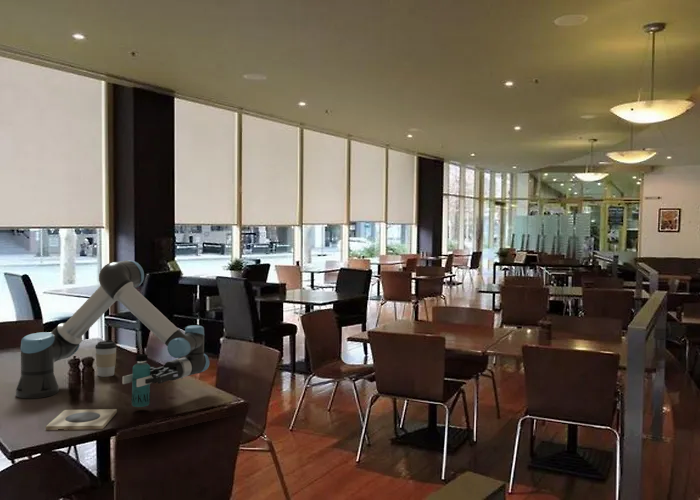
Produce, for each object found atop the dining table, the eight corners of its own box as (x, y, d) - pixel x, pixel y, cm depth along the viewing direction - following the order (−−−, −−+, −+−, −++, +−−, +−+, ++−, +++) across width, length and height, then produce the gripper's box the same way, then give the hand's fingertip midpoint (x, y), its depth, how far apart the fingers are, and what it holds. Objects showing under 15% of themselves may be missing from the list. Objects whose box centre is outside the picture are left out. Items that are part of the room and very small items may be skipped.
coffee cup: (109, 377, 270) (109, 344, 270) (90, 376, 272) (90, 342, 271) (120, 373, 279) (120, 340, 278) (102, 371, 281) (103, 339, 280)
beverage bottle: (133, 405, 228) (134, 352, 227) (152, 405, 229) (152, 352, 228) (129, 411, 221) (129, 356, 221) (147, 411, 222) (148, 356, 221)
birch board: (45, 429, 202) (45, 426, 202) (64, 413, 220) (64, 409, 220) (102, 429, 204) (102, 425, 204) (116, 412, 222) (116, 408, 222)
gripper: (195, 382, 236) (149, 396, 216) (158, 375, 245) (111, 388, 225) (195, 363, 236) (149, 375, 215) (158, 356, 245) (111, 367, 225)
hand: (130, 381), depth 220 cm, fingers closed on beverage bottle, 6 cm apart
